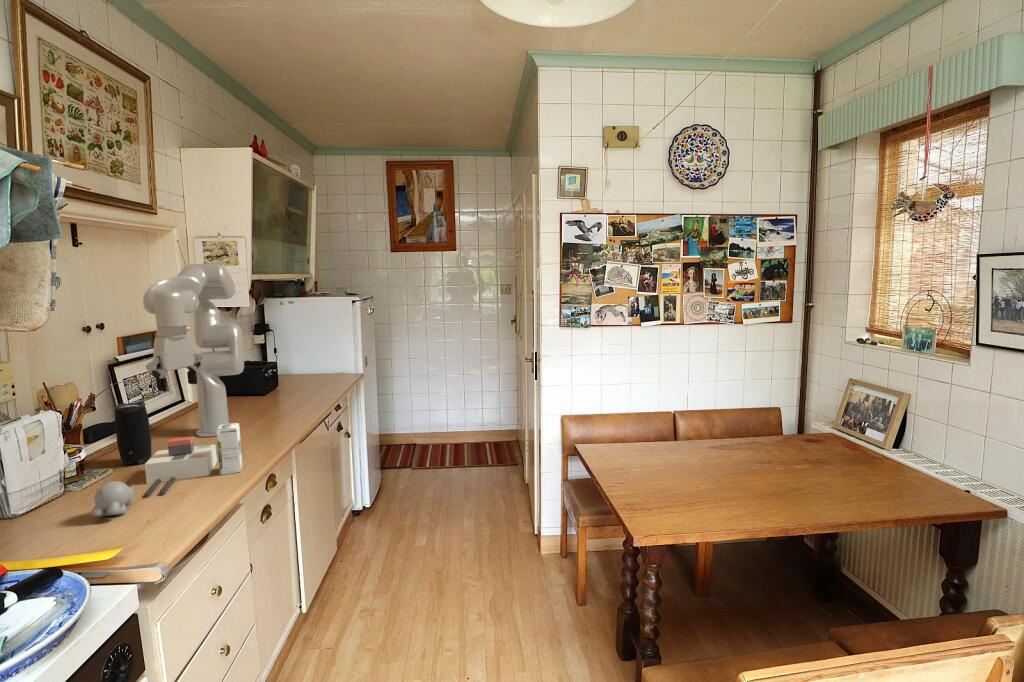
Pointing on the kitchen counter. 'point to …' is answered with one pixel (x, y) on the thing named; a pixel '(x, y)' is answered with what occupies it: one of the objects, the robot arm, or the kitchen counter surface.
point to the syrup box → (229, 448)
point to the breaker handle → (180, 446)
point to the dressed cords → (157, 485)
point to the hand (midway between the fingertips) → (178, 387)
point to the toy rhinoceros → (112, 499)
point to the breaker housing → (181, 464)
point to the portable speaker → (133, 433)
